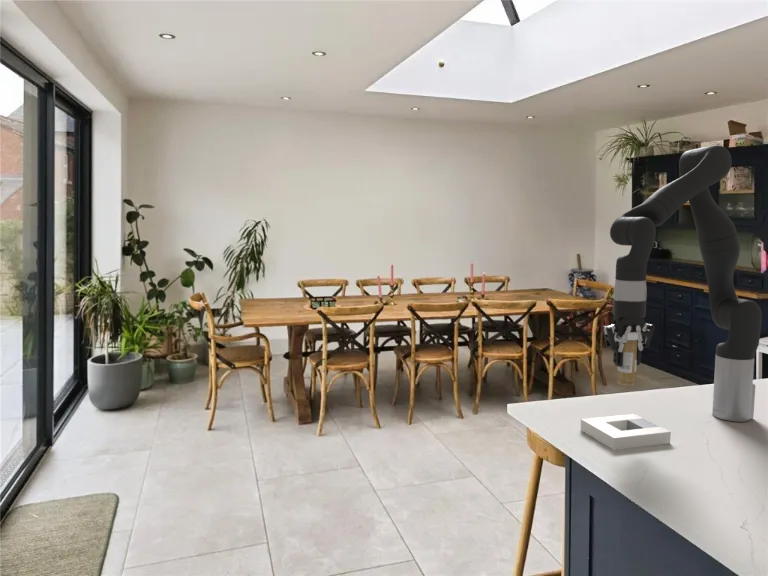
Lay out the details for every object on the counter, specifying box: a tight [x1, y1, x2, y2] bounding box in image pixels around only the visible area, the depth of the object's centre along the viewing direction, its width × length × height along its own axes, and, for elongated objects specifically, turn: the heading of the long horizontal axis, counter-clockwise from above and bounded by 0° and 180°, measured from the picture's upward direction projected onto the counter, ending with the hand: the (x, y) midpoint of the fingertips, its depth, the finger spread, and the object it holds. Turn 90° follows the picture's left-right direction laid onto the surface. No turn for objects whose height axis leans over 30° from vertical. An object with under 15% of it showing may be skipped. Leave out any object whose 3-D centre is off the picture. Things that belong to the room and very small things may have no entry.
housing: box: [580, 413, 672, 451], centre depth 151 cm, size 16×14×3 cm
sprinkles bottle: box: [616, 332, 638, 387], centre depth 149 cm, size 5×5×14 cm
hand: (626, 364), depth 149 cm, fingers closed on sprinkles bottle, 4 cm apart
